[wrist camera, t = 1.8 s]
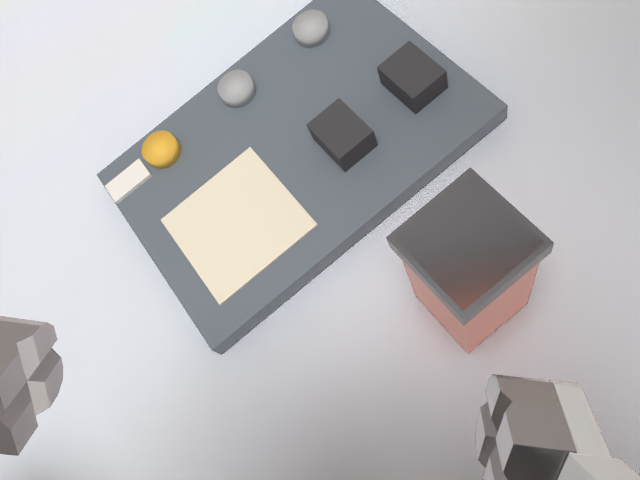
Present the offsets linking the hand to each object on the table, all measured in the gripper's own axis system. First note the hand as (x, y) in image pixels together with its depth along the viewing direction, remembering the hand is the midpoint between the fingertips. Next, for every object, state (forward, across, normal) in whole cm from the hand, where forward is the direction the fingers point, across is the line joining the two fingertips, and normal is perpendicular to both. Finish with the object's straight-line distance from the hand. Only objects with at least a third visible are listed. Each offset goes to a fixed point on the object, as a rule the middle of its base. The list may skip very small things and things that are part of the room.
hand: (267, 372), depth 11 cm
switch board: (+30, +3, +8) cm, 31 cm away
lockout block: (+20, -9, +12) cm, 25 cm away
